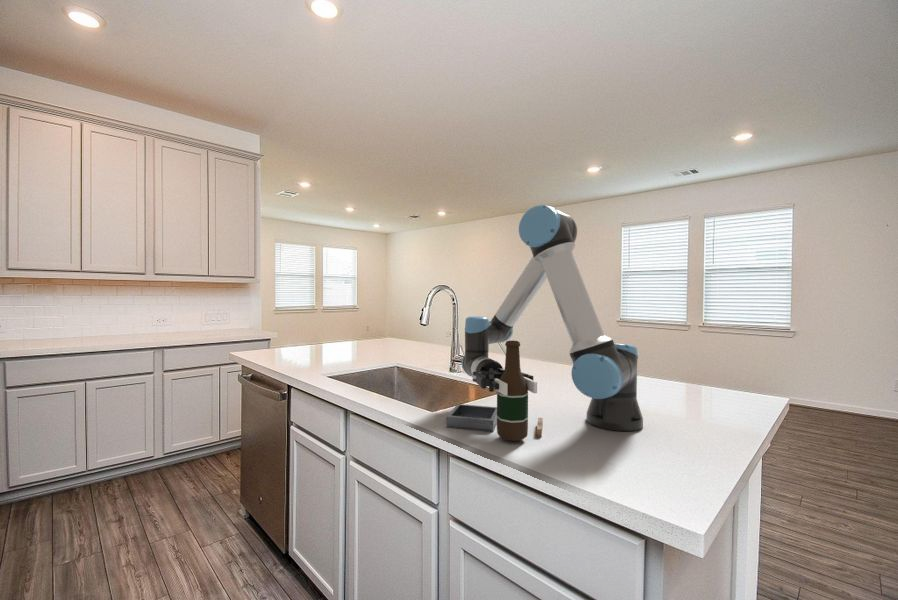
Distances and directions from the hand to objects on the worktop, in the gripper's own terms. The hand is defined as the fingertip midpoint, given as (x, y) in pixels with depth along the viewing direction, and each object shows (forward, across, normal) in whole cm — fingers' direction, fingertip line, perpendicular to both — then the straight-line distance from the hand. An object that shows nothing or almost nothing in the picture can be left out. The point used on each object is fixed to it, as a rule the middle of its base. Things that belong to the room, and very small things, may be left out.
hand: (520, 388), depth 97 cm
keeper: (-20, +5, -14) cm, 25 cm away
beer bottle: (-5, 0, -13) cm, 14 cm away
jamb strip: (-9, -10, -14) cm, 20 cm away
